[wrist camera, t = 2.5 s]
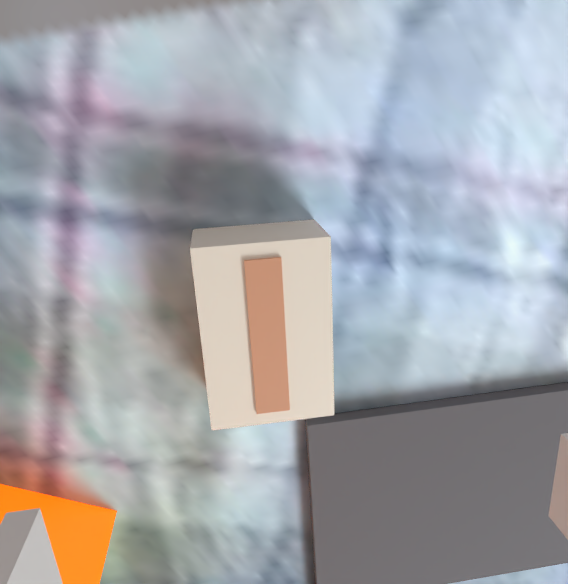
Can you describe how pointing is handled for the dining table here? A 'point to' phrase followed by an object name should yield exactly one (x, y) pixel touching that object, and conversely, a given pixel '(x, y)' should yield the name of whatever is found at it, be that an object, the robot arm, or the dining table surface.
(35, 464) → the dining table surface
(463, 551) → the charcoal mat
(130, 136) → the dining table surface
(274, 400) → the block
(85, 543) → the orange juice
